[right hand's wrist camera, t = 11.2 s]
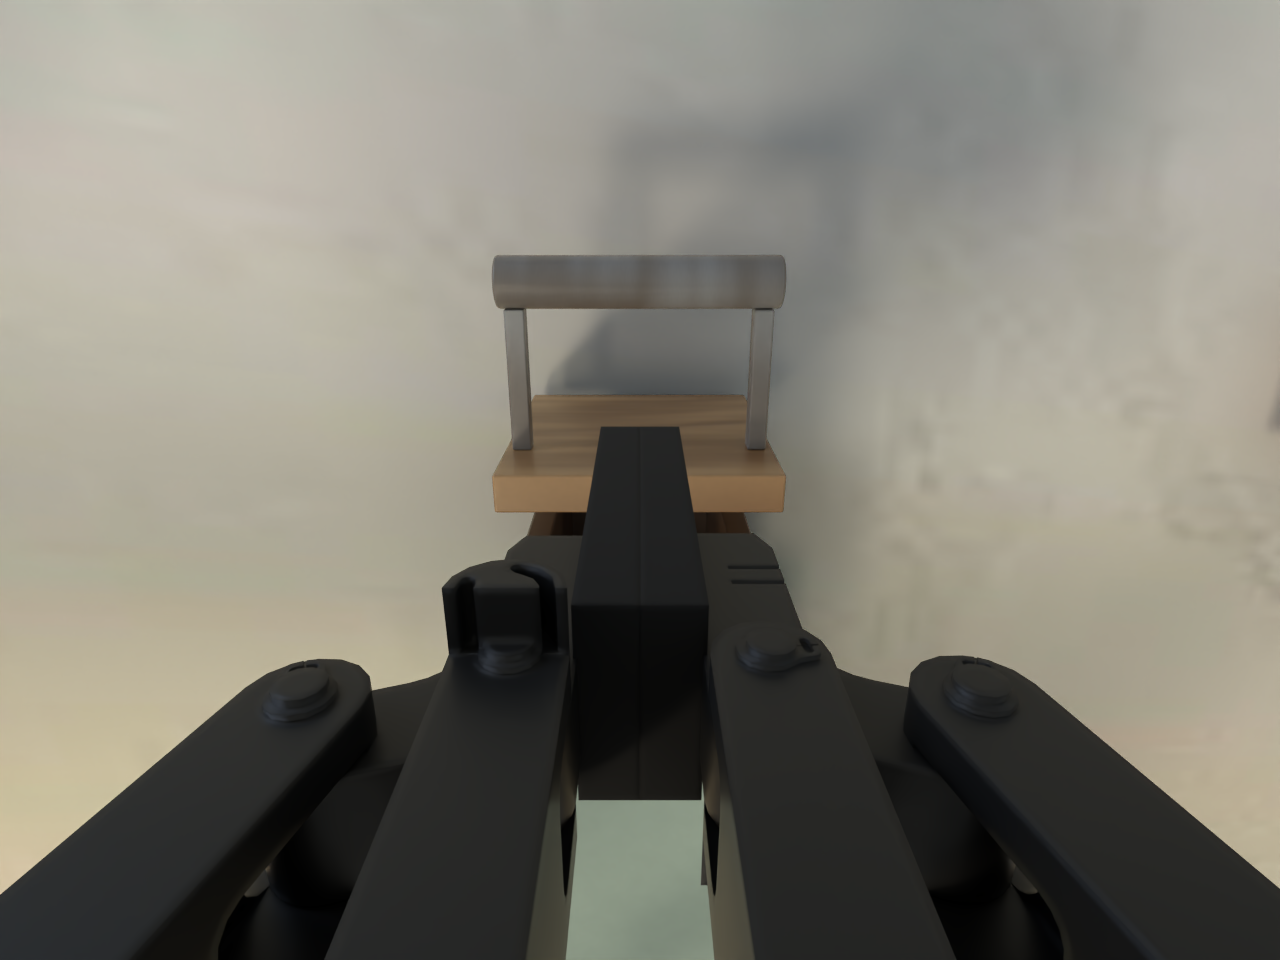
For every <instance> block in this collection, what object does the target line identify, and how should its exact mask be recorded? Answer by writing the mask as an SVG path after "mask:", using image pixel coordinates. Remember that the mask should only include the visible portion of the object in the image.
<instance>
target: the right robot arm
mask: <svg viewBox="0 0 1280 960" xmlns="http://www.w3.org/2000/svg"><path fill="white" fill-rule="evenodd" d="M442 595H443V604H444V613H445V622H446V631H447V640H448V649H449V656H448V658H447V661H446V663H445V666H444V668H443V671H442V672H440V673H438V674H436V675H433V676H431V677H429V678H426V679H422V680H418V681H415V682H411V683H407V684H402V685H397V686H392V687H387V688H382V689H378V690H373V691H372V688H371V682H370V676H369V675H368V674H367V673H366V672H365V671H364V670H363V669H362V668H361V667H360V666H359V665H356V664H353V663H350V662H347V661H344V660H337V659H316V660H307V661H305V662H304V661H301V662H297V663H293V664H290V665H288V666H286V667H283V668H280V669H278V670H275V671H273V672H270V673H268V674H266V675H264V676H263V677H261V678H260V679H258V680H257V681H255V682H254V683H252V684H250V685H249V686H247V687H246V688H245V689H243V690H242V691H241V692H240V693H239V694H237V695H236V696H235V697H234V698H233V699H232V700H230V701H229V702H228V703H227V704H226V705H224V706H223V707H222V708H221V709H220V710H219V711H217V712H216V713H215V714H214V715H213V716H211V717H210V718H209V719H208V720H207V721H206V722H204V723H203V724H202V725H201V726H200V727H198V728H197V729H196V730H195V731H194V732H192V733H191V734H190V735H189V736H188V737H187V738H185V739H184V740H183V741H182V742H181V743H179V744H178V745H177V746H176V747H175V748H174V749H172V750H171V751H170V752H169V753H168V754H166V755H165V756H164V757H163V758H162V759H161V760H159V761H158V762H157V763H156V764H155V765H153V766H152V767H151V768H150V769H149V770H148V771H146V772H145V773H144V774H143V775H142V776H140V777H139V778H138V779H137V780H136V781H134V782H133V783H132V784H131V785H130V786H129V787H127V788H126V789H125V790H124V791H123V792H121V793H120V794H119V795H118V796H117V797H116V798H114V799H113V800H112V801H111V802H110V803H108V804H107V805H106V806H105V807H104V808H103V809H101V810H100V811H99V812H98V813H97V814H95V815H94V816H93V817H92V818H91V819H89V820H88V821H87V822H86V823H85V824H84V825H82V826H81V827H80V828H79V829H78V830H76V831H75V832H74V833H73V834H72V835H71V836H69V837H68V838H67V839H66V840H65V841H63V842H62V843H61V844H60V845H59V846H58V847H56V848H55V849H54V850H53V851H52V852H50V853H49V854H48V855H47V856H46V857H44V858H43V859H42V860H41V861H40V862H39V863H37V864H36V865H35V866H34V867H33V868H31V869H30V870H29V871H28V872H27V873H26V874H24V875H23V876H22V877H21V878H20V879H18V880H17V881H16V882H15V883H14V884H13V885H11V886H10V887H9V888H8V889H7V890H5V891H4V892H3V893H2V894H1V895H0V960H566V951H567V941H568V930H569V919H570V909H571V898H572V887H573V877H574V866H575V856H576V845H577V817H576V797H577V788H578V800H702V784H703V793H704V817H703V842H702V866H701V885H707V886H708V897H709V908H710V918H711V929H712V940H713V950H714V960H1280V889H1279V888H1278V887H1277V886H1276V885H1275V884H1273V883H1272V882H1271V881H1270V880H1269V879H1267V878H1266V877H1265V876H1264V875H1263V874H1261V873H1260V872H1259V871H1258V870H1257V869H1255V868H1254V867H1253V866H1252V865H1251V864H1250V863H1248V862H1247V861H1246V860H1245V859H1244V858H1242V857H1241V856H1240V855H1239V854H1238V853H1236V852H1235V851H1234V850H1233V849H1232V848H1230V847H1229V846H1228V845H1227V844H1226V843H1224V842H1223V841H1222V840H1221V839H1220V838H1218V837H1217V836H1216V835H1215V834H1214V833H1213V832H1211V831H1210V830H1209V829H1208V828H1207V827H1205V826H1204V825H1203V824H1202V823H1201V822H1199V821H1198V820H1197V819H1196V818H1195V817H1193V816H1192V815H1191V814H1190V813H1189V812H1187V811H1186V810H1185V809H1184V808H1183V807H1181V806H1180V805H1179V804H1178V803H1177V802H1175V801H1174V800H1173V799H1172V798H1171V797H1170V796H1168V795H1167V794H1166V793H1165V792H1164V791H1162V790H1161V789H1160V788H1159V787H1158V786H1156V785H1155V784H1154V783H1153V782H1152V781H1150V780H1149V779H1148V778H1147V777H1146V776H1144V775H1143V774H1142V773H1141V772H1140V771H1138V770H1137V769H1136V768H1135V767H1134V766H1132V765H1131V764H1130V763H1129V762H1128V761H1127V760H1125V759H1124V758H1123V757H1122V756H1121V755H1119V754H1118V753H1117V752H1116V751H1115V750H1113V749H1112V748H1111V747H1110V746H1109V745H1107V744H1106V743H1105V742H1104V741H1103V740H1101V739H1100V738H1099V737H1098V736H1097V735H1095V734H1094V733H1093V732H1092V731H1091V730H1089V729H1088V728H1087V727H1086V726H1085V725H1084V724H1082V723H1081V722H1080V721H1079V720H1078V719H1076V718H1075V717H1074V716H1073V715H1072V714H1070V713H1069V712H1068V711H1067V710H1066V709H1064V708H1063V707H1062V706H1061V705H1060V704H1058V703H1057V702H1056V701H1055V700H1054V699H1052V698H1051V697H1050V696H1049V695H1048V694H1046V693H1045V692H1044V691H1043V690H1042V689H1041V688H1039V687H1038V686H1037V685H1036V684H1034V683H1033V682H1031V681H1030V680H1028V679H1027V678H1025V677H1024V676H1022V675H1020V674H1019V673H1017V672H1016V671H1014V670H1012V669H1009V668H1007V667H1004V666H1002V665H999V664H996V663H994V662H992V661H989V660H985V659H981V658H974V657H969V656H938V657H935V658H932V659H929V660H926V661H923V662H921V663H920V664H919V665H918V666H917V667H916V668H915V669H914V670H913V671H912V672H911V676H910V682H909V687H904V686H899V685H894V684H889V683H884V682H879V681H874V680H870V679H866V678H863V677H859V676H855V675H852V674H850V673H847V672H845V671H843V670H840V669H838V668H837V667H836V665H835V662H834V660H833V657H832V655H831V653H830V652H829V650H828V649H827V648H826V646H825V645H824V644H823V642H822V641H821V640H820V639H818V638H816V637H815V636H813V635H812V634H810V633H809V632H807V631H805V630H803V629H802V627H801V624H800V621H799V619H798V616H797V613H796V611H795V608H794V605H793V603H792V600H791V597H790V595H789V592H788V589H787V587H786V584H784V578H783V576H782V573H781V570H780V569H779V565H778V562H777V560H776V557H775V554H774V552H773V549H772V548H771V547H770V546H769V545H768V544H766V543H765V542H764V541H762V540H761V539H760V538H759V537H757V536H756V535H755V534H754V533H697V530H696V524H695V518H694V512H693V506H692V500H691V494H690V488H689V482H688V476H687V470H686V465H685V459H684V453H683V447H682V441H681V435H680V429H679V427H601V429H600V435H599V441H598V447H597V453H596V459H595V465H594V470H593V476H592V482H591V488H590V494H589V500H588V506H587V512H586V518H585V524H584V530H583V536H526V537H525V538H523V539H522V540H521V541H519V542H518V543H517V544H516V545H514V546H513V547H512V548H511V549H509V550H508V552H507V555H506V557H505V560H498V561H490V562H486V563H483V564H479V565H475V566H472V567H469V568H467V569H465V570H463V571H461V572H460V573H458V574H456V575H454V576H452V577H451V578H450V579H449V581H448V582H447V583H446V584H445V585H444V586H443V587H442Z"/></svg>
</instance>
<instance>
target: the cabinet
mask: <svg viewBox="0 0 1280 960" xmlns="http://www.w3.org/2000/svg"><path fill="white" fill-rule="evenodd" d="M576 817H577V845H576V856H575V866H574V877H573V887H572V898H571V909H570V919H569V930H568V941H567V951H566V960H714V950H713V940H712V929H711V918H710V908H709V897H708V886H707V885H701V866H702V842H703V817H704V793H703V784H702V800H578V788H577V797H576Z"/></svg>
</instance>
